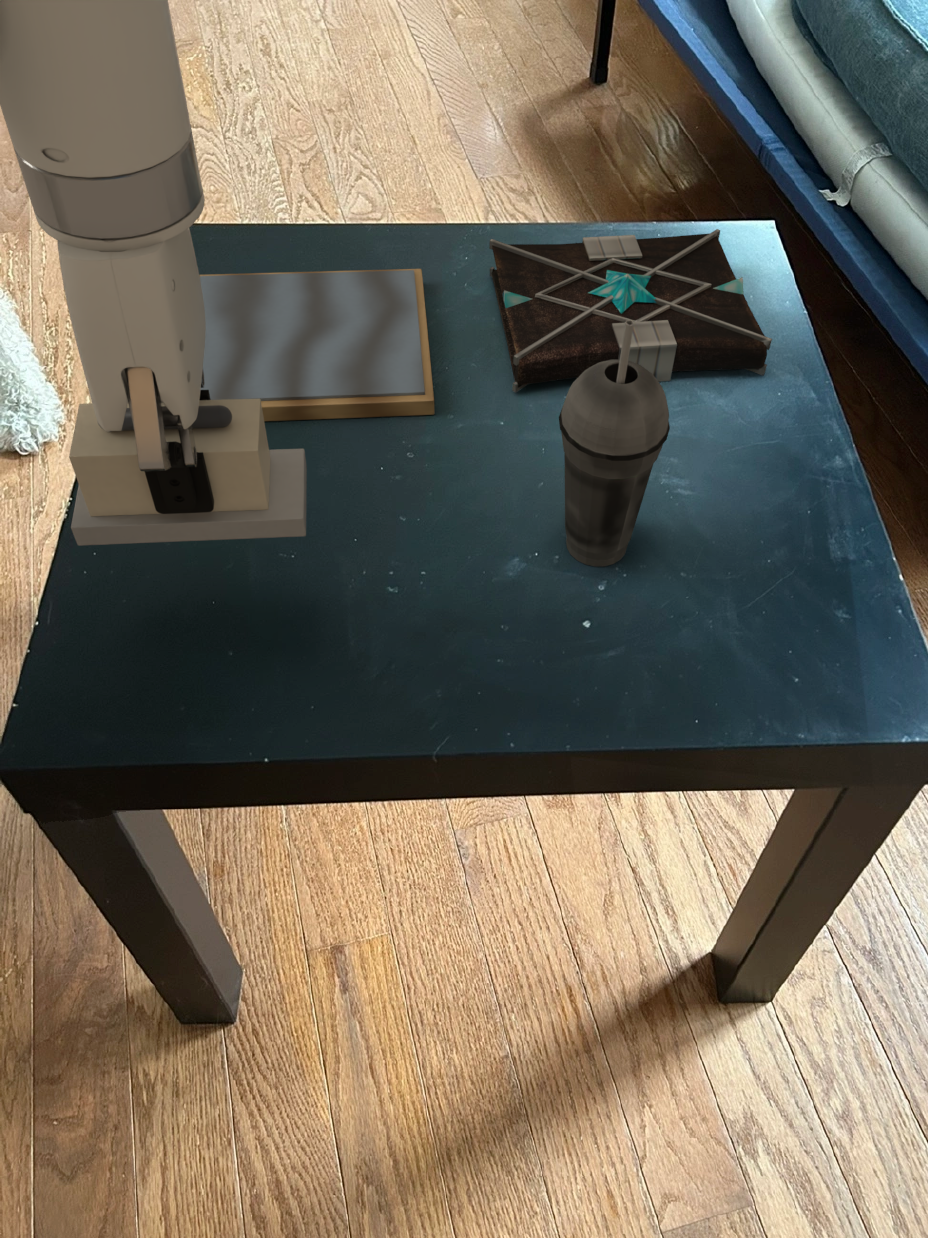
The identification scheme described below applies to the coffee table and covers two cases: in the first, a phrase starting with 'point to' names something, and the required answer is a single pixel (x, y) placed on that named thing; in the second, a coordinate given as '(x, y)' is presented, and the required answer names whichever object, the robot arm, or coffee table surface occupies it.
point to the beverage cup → (609, 453)
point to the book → (624, 307)
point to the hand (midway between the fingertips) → (188, 475)
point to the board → (319, 343)
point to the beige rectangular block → (237, 468)
